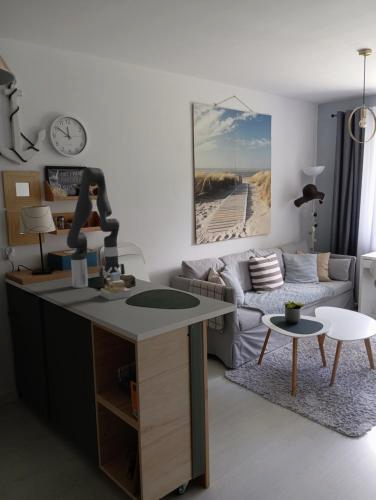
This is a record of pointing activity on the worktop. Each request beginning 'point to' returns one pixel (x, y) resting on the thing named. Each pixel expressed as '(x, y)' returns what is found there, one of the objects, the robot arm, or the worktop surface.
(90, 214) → the robot arm
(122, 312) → the worktop surface
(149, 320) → the worktop surface
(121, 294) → the dock
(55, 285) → the worktop surface
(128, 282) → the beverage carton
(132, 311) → the worktop surface
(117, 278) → the pale blue cube
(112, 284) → the tan rectangular block
